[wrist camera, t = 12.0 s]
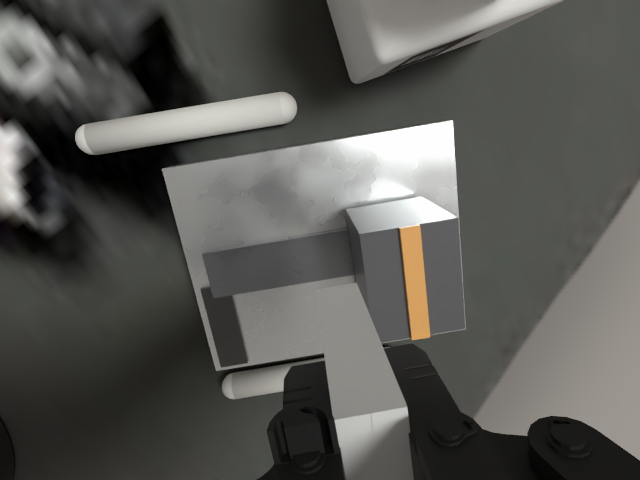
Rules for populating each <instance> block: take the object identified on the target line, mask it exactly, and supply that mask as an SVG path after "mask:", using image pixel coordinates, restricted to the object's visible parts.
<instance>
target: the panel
mask: <svg viewBox="0 0 640 480" xmlns="http://www.w3.org/2000/svg"><path fill="white" fill-rule="evenodd" d="M162 171H163V175H164V179H165V183H166V186H167V190H168V194H169V198H170V201H171V205H172V209H173V213H174V216H175V220H176V224H177V227H178V231H179V235H180V239H181V242H182V246H183V250H184V254H185V257H186V261H187V265H188V269H189V272H190V276H191V280H192V283H193V287H194V291H195V295H196V298H197V302H198V306H199V310H200V313H201V317H202V321H203V324H204V328H205V332H206V336H207V339H208V343H209V347H210V351H211V354H212V358H213V362H214V366H215V369H216V371H220V370H226V369H232V368H238V367H244V366H250V365H256V364H262V363H268V362H274V361H280V360H286V359H291V358H297V357H303V356H309V355H315V354H321V353H324V350H323V343H322V336H321V328H320V321H319V314H318V307H317V299H316V292H315V290H317V289H323V288H329V287H335V286H340V285H346V284H352V283H356V278H355V271H354V264H353V257H352V250H351V243H350V236H349V229H348V222H347V215H346V209H350V208H356V207H362V206H368V205H374V204H380V203H386V202H392V201H398V200H404V199H410V198H416V197H423V198H425V199H427V200H428V201H430V202H432V203H434V204H435V205H437V206H439V207H441V208H442V209H444V210H446V211H448V212H449V213H451V214H453V215H454V216H456V217H458V221H459V213H458V197H457V181H456V165H455V149H454V134H453V121H437V122H431V123H425V124H419V125H413V126H407V127H401V128H395V129H389V130H383V131H377V132H371V133H365V134H359V135H353V136H346V137H340V138H334V139H328V140H322V141H316V142H310V143H304V144H298V145H292V146H286V147H280V148H274V149H268V150H262V151H256V152H250V153H244V154H238V155H232V156H226V157H220V158H214V159H208V160H202V161H196V162H190V163H184V164H178V165H173V166H170V167H166V168H163V169H162ZM459 237H460V229H459ZM460 252H461V244H460ZM461 268H462V260H461ZM462 284H463V276H462ZM463 300H464V292H463ZM464 315H465V308H464ZM465 329H466V324H465ZM461 330H464V329H461ZM455 331H458V330H455ZM449 332H453V331H449ZM443 333H447V332H443ZM437 334H441V333H437ZM431 335H435V334H431ZM407 339H411V338H407ZM401 340H405V339H401ZM395 341H399V340H395ZM389 342H393V341H389ZM384 343H387V342H384Z"/></svg>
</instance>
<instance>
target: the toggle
mask: <svg viewBox="0 0 640 480" xmlns="http://www.w3.org/2000/svg"><path fill="white" fill-rule="evenodd" d="M346 215H347V222H348V229H349V236H350V243H351V250H352V257H353V264H354V271H355V278H356V283H357V285H358V287H359V290H360V292H361V295H362V297H363V300H364V302H365V304H366V307H367V309H368V312H369V314H370V317H371V319H372V322H373V324H374V326H375V329H376V331H377V334H378V336H379V339H380V341H381V343H384V342H389V341H395V340H401V339H407V338H411V339H412V340H417V339H423V338H429V337H430V335H431V334H437V333H443V332H449V331H455V330H461V329H465V315H464V300H463V284H462V268H461V252H460V237H459V221H458V217H456V216H454V215H453V214H451V213H449V212H448V211H446V210H444V209H442V208H441V207H439V206H437V205H435V204H434V203H432V202H430V201H428V200H427V199H425V198H423V197H416V198H410V199H404V200H398V201H392V202H386V203H380V204H374V205H368V206H362V207H356V208H350V209H346Z"/></svg>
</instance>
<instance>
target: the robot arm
mask: <svg viewBox="0 0 640 480" xmlns="http://www.w3.org/2000/svg"><path fill="white" fill-rule="evenodd" d="M315 292H316V299H317V307H318V314H319V321H320V328H321V336H322V343H323V350H324V357H325V360H324V361H318V362H312V363H307V364H301V365H296V366H291V368H290V369H289V371H288V373H287V374H286V376H285V378H284V391H283V392H284V394H283V410H281V411H280V412H278V413H277V414H276V415H275V416H274V418H273V419H272V420H271V421H270V423H269V426H268V429H267V434H268V438H269V443H270V447H271V451H272V455H273V459H274V465H273V467H272V468H271V469H270V470H269V471H268V472H267V473H266V474H264V475H263V476H262V477H260V478H259V479H257V480H640V461H639V460H638V459H637V458H635V457H634V456H632V455H631V454H630V453H628V452H627V451H625V450H624V449H623V448H621V447H620V446H618V445H617V444H615V443H614V442H613V441H611V440H610V439H609V438H607V437H606V436H604V435H603V434H602V433H600V432H599V431H597V430H596V429H594V428H592V427H590V426H588V425H587V424H585V423H583V422H581V421H578V420H574V419H571V418H567V417H557V416H550V417H545V418H541V419H538V420H537V421H535V422H534V423H533V424H531V426H530V428H529V431H528V436H519V435H506V434H499V433H492V432H489V431H486V430H483V429H482V428H481V427H480V426H479V425H478V424H477V423H476V422H475V420H474V419H472V418H471V417H469V416H467V415H465V414H463V413H461V412H460V410H459V409H458V407H457V405H456V404H455V402H454V400H453V398H452V397H451V395H450V393H449V392H448V390H447V388H446V387H445V385H444V383H443V381H442V380H441V378H440V376H438V373H437V371H436V369H435V368H434V366H432V363H431V361H430V359H429V358H428V356H427V354H426V352H424V351H423V350H421V349H420V348H418V347H417V346H415V345H414V344H407V345H401V346H395V347H390V348H383V346H382V344H381V341H380V339H379V336H378V334H377V331H376V329H375V326H374V324H373V322H372V319H371V317H370V314H369V312H368V309H367V307H366V304H365V302H364V300H363V297H362V295H361V292H360V290H359V287H358V285H357V283H352V284H346V285H340V286H335V287H329V288H323V289H317V290H315ZM13 475H14V455H13V450H12V445H11V442H10V439H9V437H8V434H7V432H6V430H5V428H4V426H3V424H2V423H1V421H0V480H13Z"/></svg>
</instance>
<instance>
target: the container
mask: <svg viewBox="0 0 640 480" xmlns="http://www.w3.org/2000/svg"><path fill="white" fill-rule="evenodd" d="M326 1H327V4H328V7H329V11H330V14H331V17H332V21H333V24H334V27H335V31H336V34H337V37H338V41H339V44H340V47H341V51H342V54H343V57H344V61H345V64H346V67H347V71H348V74H349V77H350V80H351V81H352V82H353V83H355V84H360V83H363V82H365V81H368V80H371V79H374V78H376V77H379V76H382V75H385V74H387V73H390V72H393V71H396V70H398V69H401V68H404V67H407V66H409V65H412V64H415V63H418V62H421V61H423V60H426V59H429V58H432V57H434V56H437V55H440V54H443V53H445V52H448V51H451V50H454V49H456V48H459V47H462V46H465V45H467V44H470V43H473V42H476V41H478V40H481V39H484V38H486V37H488V36H491V35H493V34H495V33H497V32H499V31H501V30H503V29H505V28H507V27H509V26H511V25H514V24H516V23H518V22H520V21H522V20H524V19H526V18H528V17H530V16H532V15H535V14H537V13H539V12H541V11H543V10H545V9H547V8H549V7H551V6H553V5H556V4H558V3H560V2H562V1H564V0H326Z"/></svg>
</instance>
